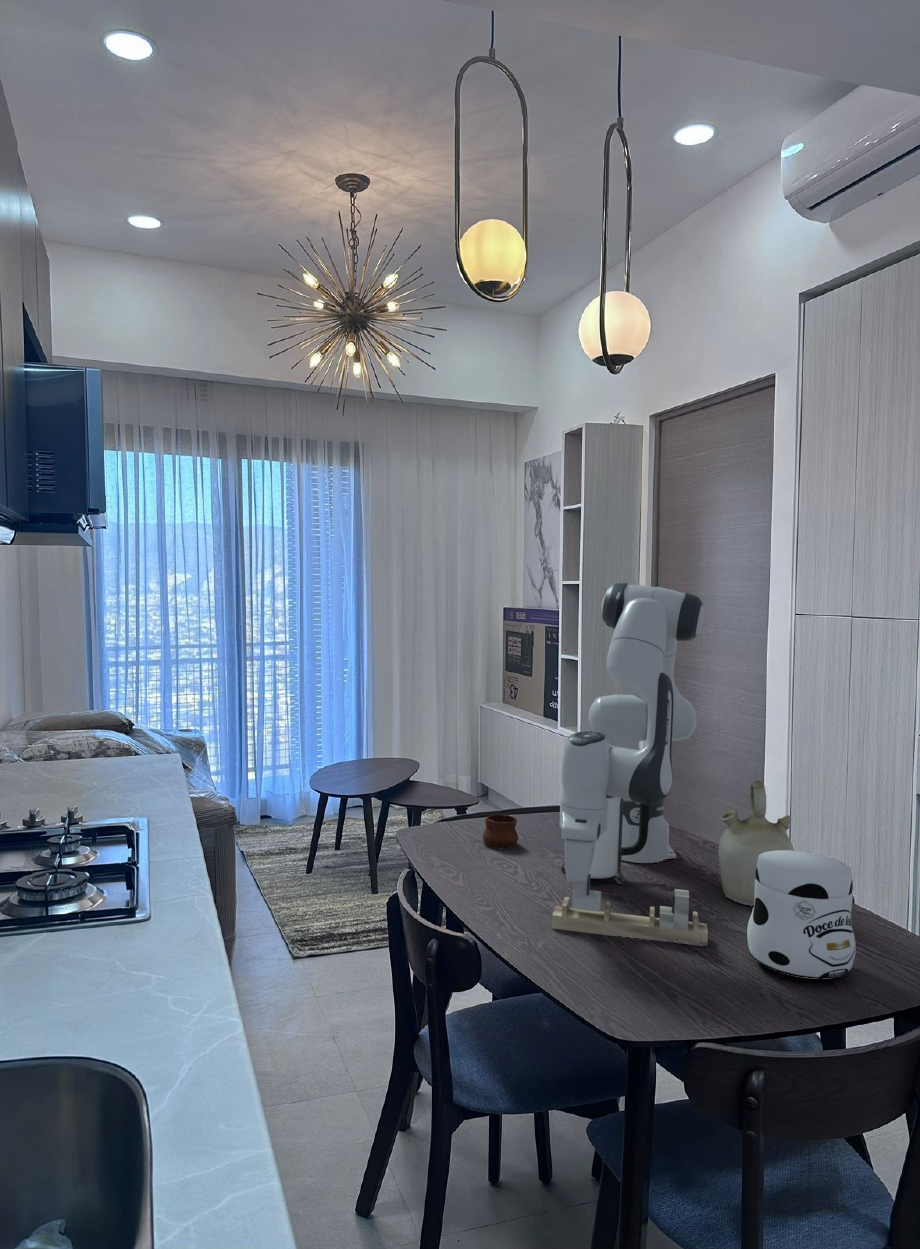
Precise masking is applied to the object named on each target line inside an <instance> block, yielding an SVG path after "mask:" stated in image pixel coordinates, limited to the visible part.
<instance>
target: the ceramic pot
mask: <svg viewBox="0 0 920 1249" xmlns="http://www.w3.org/2000/svg"><path fill="white" fill-rule="evenodd" d="M484 820H485V829H484V832H483V834H482V835H483V836H482V840H483V843H484V845H485V844H486V845H487V846H486V845H485V846H486V847H489V848H492V847H493V848H492V849H498V848H502V849H503V848H506V849H512V848H515V847H517V843H518V840H519V834H518V832H517V829H516V826H517V823H518V819H517V818H516V817H515V816H512V815H509V814H498V813H497V814H496V813H495V814H494V813H493V814H491V815H488V816H487V817H485V819H484ZM511 847H512V848H511Z"/></svg>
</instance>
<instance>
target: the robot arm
mask: <svg viewBox="0 0 920 1249" xmlns="http://www.w3.org/2000/svg"><path fill="white" fill-rule="evenodd" d="M703 604H704V603H703V601H702V600H701V599H700V597H699V596H698V595H694V594H692V593H691V592H681V591H678V590H674V589H671V588H667V587H661V586H650V585H640V584H629V583H626V582H621V583H619V582H617V583H613V584H612V585H611V586H609V587H608V588H607V590H606V592H605V593H604V596H603V598H602V600H601V606H600V607H601V615H602V621H603V622H604V624H605V625H606V626H607V627H608V628H611V629H613V630H614V631H613V634H612V637H611V641H610V644H609V648H608V651H607V656H606V668H607V669H606V670H607V672H608V675H609V677H610V678H611V679H612V681H613V682H614V683H615V684H616V686H617V685H618V686H619V688H621V689H622V690H623V691H626V692H627V693H629V694H611V695H609V694H608V695H604V696H598V697H597V698H595V700H594V701H593V702H592V704H591V706H590V708H589V711H588V722H589V726H590V728H591V730H592V731H591V730H586V731H577V732H574V733H573V734H570V735H569V736H568V737H567V739H566V741H565V745H564V750H563V756H562V764H561V784H562V793H561V798H560V800H559V801H560V805H559V828H560V830H561V831H560V832H561V833H560V834H561V839H563V840H564V863H565V866H564V869H565V870H566V872H565V876H566V881H567V882H568V883H574V897H576V898H583V897H584V885H585V884H586V883H587V880H588V875H589V872H590V868H591V864H592V860H593V857H594V853H595V843H596V841H597V840H598V839H599V838H600V835H601V834H602V833H603V832H605V831H606V830H607V811H608V802H607V798H606V795H608V796H612V797H617V798H623V822H622V845H621V847H631V846H633V845H634V844H635V843H636V842H637V840H638V837H639V821H640V803H641V804H645V805H648V806H649V819H648V836H647V841H646V844H645V846H644V848H643V849H642V850H641V851H640V852H638V853H636V854H633V855H625V856H622V859H621V861H624V862H628V863H629V862H630V863H638V864H639V863H640V864H652V863H654V864H655V862H656V863H660V861H661V862H664V861H663V860H664V859H668V858H669V859H670V858H676V859H677V854H676V853H675V851H674V849H673V848H672V847H671V846H670V844H669V842H670V838H669V837H670V824H669V823H668V821H667V820H666V819H665V817H664V811H665V810H664V808H665V803H664V802H665V800H664V799H665V798H666V797H667V796H669V794H670V792H671V790H672V783H673V763H672V762H673V761H672V747H673V746H672V745H673V743H672V742H677V741H678V742H679V741H683V740H687V739H689V738H690V737H691V736H692V735H693V733H694V732H695V729H696V726H697V721H698V720H697V719H698V717H697V712H696V710H695V708H694V706H693V704H692V703H691V702H690V701H689V700H688V699H686V698H685V697H684V696H683V695H682V694H681V693H680V691H679V690H678V688H677V686H676V682H675V664H676V656H677V648H678V642H687V641H692V640H693V639H695V638H696V637H697V635H698V634H699V632H700V631H701V629H702V628H703V625H704V622H705V608H704V605H703ZM640 742H646V744H645V747H644V748H642V749H641V748H640Z"/></svg>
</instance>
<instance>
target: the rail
mask: <svg viewBox="0 0 920 1249" xmlns="http://www.w3.org/2000/svg"><path fill="white" fill-rule="evenodd" d="M671 896H672V897H671V906H665V905H660V906H659V917H655V906H650V907H649V916H643V915H635V914H624V913H617V912H611V901H605V906H604V911H599V912H597V911H588V910H580V909H572V907H569V904H570V897H569V896H564V898H563V901H562V905H561V906H558V905H555V908H554V909H553V912H552V918H551V919H552V920H551V929H553V930H560V931H570V932H579V933H586V934H593V935H594V934H595V935H601V934H602V936H610V937H611V936H612V937H618V936H621V937H620V938H626V937H630V938H629V939H634V938H645V939H647V938H648V939H661V940H662V939H663V940H682V941H691V942H702V943H703V942H705V943H707V944H708V939H709V938H708V937H709V932H708V925H707V923H704V922H703V923H702V922H700V921H699V913H698V911H692V921H689V912H690V909H689V908H690V891H689V890H688V889H687V890H686V889H679V888H674V890H672V893H671Z"/></svg>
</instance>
